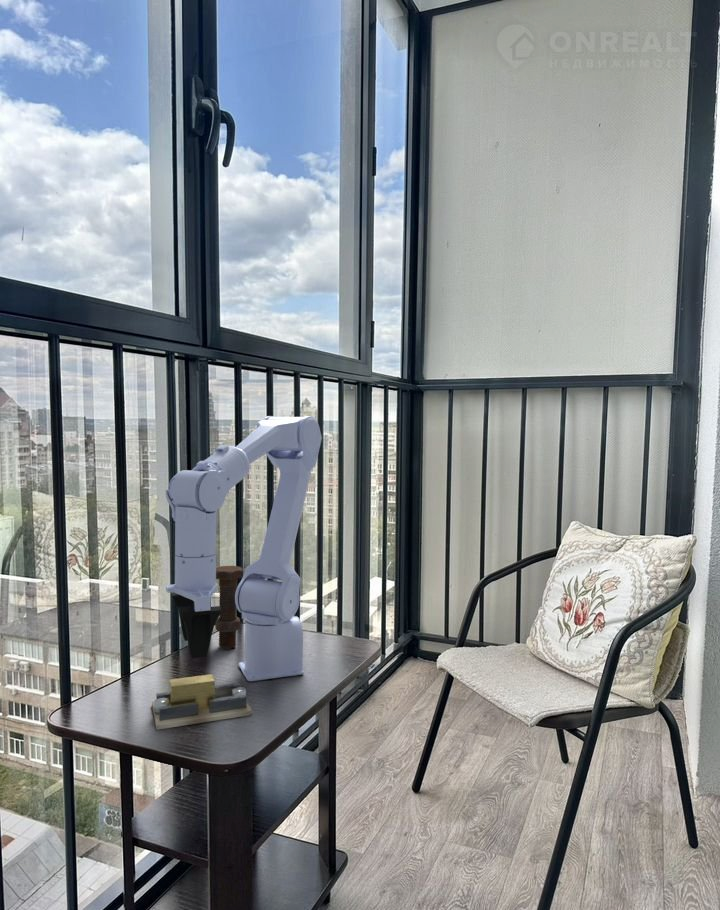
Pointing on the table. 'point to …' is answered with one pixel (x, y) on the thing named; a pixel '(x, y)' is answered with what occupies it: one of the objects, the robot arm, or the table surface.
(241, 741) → the table surface
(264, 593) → the robot arm
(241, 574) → the bolt
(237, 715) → the plywood plate
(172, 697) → the khaki rectangular block
